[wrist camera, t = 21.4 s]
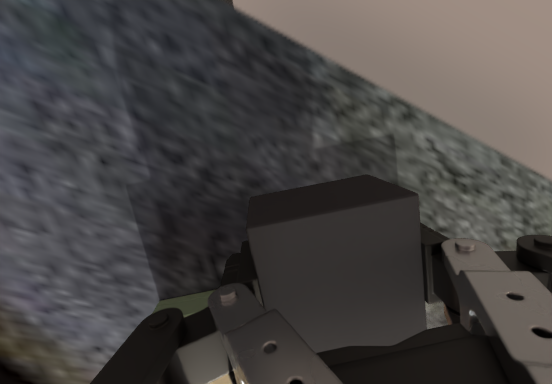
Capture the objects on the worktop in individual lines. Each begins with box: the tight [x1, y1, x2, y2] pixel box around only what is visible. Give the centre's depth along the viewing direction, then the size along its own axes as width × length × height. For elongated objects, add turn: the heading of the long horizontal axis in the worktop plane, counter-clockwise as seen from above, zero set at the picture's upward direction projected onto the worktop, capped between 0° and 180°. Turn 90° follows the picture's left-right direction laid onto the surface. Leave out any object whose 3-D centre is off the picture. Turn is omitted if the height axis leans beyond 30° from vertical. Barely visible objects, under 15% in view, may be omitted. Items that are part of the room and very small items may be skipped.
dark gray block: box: [246, 175, 427, 353], centre depth 11 cm, size 6×6×4 cm
